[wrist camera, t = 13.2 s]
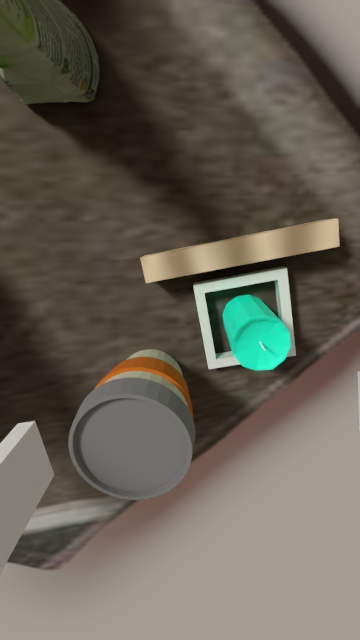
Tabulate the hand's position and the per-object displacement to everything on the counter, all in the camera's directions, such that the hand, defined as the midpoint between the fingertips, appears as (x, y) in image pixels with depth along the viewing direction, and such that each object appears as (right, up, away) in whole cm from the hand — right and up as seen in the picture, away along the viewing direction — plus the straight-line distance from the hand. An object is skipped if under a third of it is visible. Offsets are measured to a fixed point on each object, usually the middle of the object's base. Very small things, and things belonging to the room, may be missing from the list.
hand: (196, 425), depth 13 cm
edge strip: (+6, +13, +26) cm, 30 cm away
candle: (+8, +5, +28) cm, 30 cm away
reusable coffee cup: (-5, -4, +32) cm, 32 cm away
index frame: (+8, +5, +28) cm, 30 cm away
